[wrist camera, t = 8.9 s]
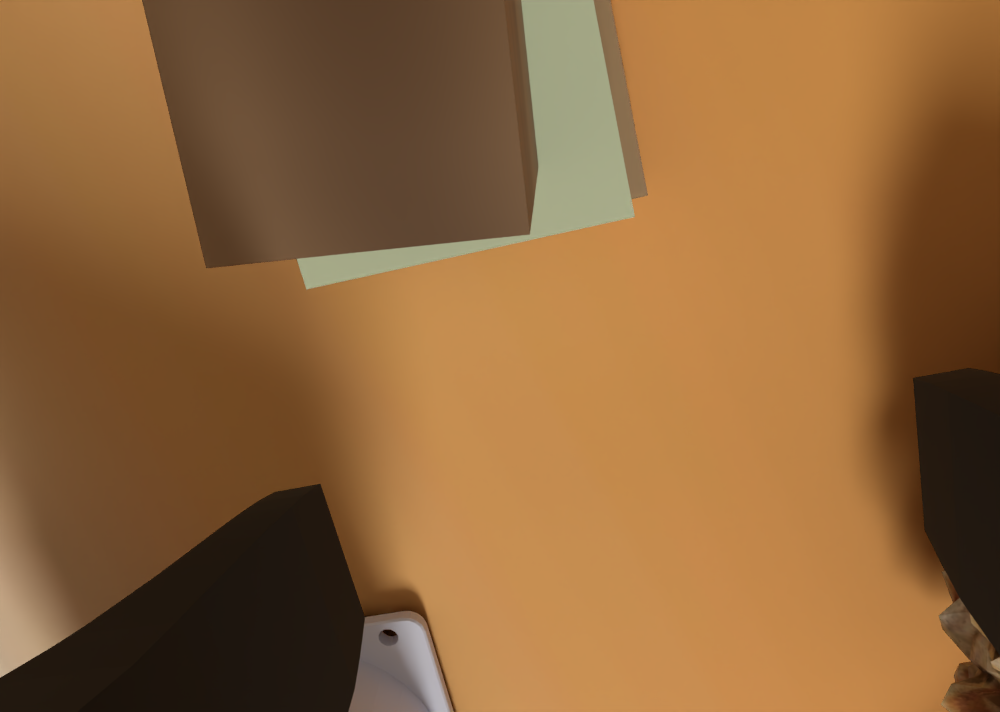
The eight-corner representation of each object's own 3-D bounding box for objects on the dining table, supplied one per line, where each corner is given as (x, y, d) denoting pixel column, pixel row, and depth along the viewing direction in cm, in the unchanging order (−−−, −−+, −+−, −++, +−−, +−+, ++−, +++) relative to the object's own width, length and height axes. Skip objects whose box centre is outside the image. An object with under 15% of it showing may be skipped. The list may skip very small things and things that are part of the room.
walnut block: (309, 191, 16) (206, 268, 11) (261, -58, 14) (120, -90, 10) (538, 166, 15) (530, 234, 11) (511, -94, 14) (488, -143, 9)
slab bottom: (341, 243, 21) (314, 272, 19) (240, -77, 19) (197, -88, 17) (636, 173, 20) (648, 195, 18) (569, -173, 18) (572, -199, 16)
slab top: (336, 254, 19) (306, 289, 17) (242, -55, 17) (191, -65, 15) (624, 189, 18) (634, 216, 16) (560, -143, 16) (561, -169, 14)
